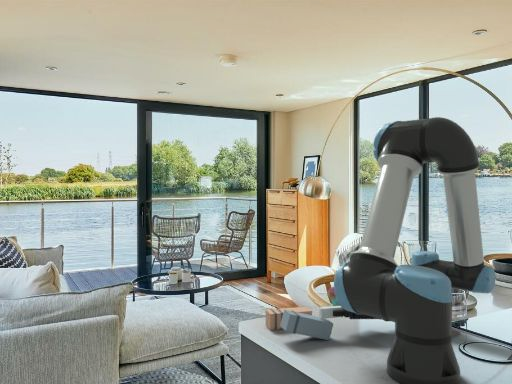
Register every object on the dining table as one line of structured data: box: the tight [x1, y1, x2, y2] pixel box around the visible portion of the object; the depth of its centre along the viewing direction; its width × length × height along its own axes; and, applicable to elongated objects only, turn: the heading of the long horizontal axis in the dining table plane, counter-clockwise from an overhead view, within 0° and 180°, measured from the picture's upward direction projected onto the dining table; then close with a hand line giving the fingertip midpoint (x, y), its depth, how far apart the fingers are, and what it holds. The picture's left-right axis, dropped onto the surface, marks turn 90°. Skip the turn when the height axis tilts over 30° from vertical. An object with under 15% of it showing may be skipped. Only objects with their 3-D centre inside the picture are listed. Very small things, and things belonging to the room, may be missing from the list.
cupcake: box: [326, 272, 339, 306], centre depth 149 cm, size 9×8×12 cm
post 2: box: [280, 309, 334, 341], centre depth 118 cm, size 5×5×13 cm
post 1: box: [265, 306, 313, 331], centre depth 129 cm, size 5×5×13 cm
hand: (320, 313), depth 120 cm, fingers closed
